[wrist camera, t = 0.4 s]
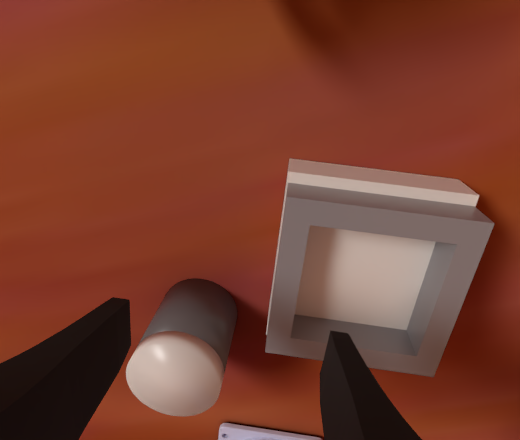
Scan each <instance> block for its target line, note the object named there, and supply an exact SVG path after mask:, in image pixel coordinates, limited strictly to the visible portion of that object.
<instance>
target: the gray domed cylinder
mask: <svg viewBox="0 0 520 440" xmlns="http://www.w3.org/2000/svg"><path fill="white" fill-rule="evenodd" d="M236 321H237V307H236V303H235V301H234V299H233V298H232V296H231V295H230V294H229V293H228V292H227V291H226V290H225V289H224V288H223V287H221V286H220V285H218V284H216V283H214V282H212V281H208V280H204V279H187V280H183V281H181V282H178V283H177V284H175V285H174V286H172V287H171V288H170V289H169V291H168V292H167V294H166V296H165V297H164V299H163V301H162V303H161V305H160V306H159V308H158V310H157V312H156V314H155V315H154V317H153V319H152V321H151V323H150V324H149V326H148V328H147V330H146V332H145V334H144V335H143V337H142V339H141V341H140V343H139V344H138V346H137V348H136V350H135V352H134V353H133V355H132V357H131V359H130V361H129V363H128V365H127V369H126V378H127V382H128V385H129V387H130V389H131V391H132V392H133V394H134V395H135V396H136V397H137V398H138V399H139V400H140V401H141V402H142V403H144V404H145V405H147V406H148V407H150V408H152V409H154V410H156V411H158V412H161V413H164V414H167V415H172V416H191V415H196V414H199V413H202V412H204V411H206V410H208V409H209V408H210V407H211V406H213V404H214V403H215V402H216V401H217V399H218V397H219V394H220V389H221V385H222V381H223V377H224V372H225V368H226V364H227V359H228V355H229V351H230V346H231V342H232V338H233V334H234V329H235V325H236Z"/></svg>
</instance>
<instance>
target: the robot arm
mask: <svg viewBox="0 0 520 440" xmlns="http://www.w3.org/2000/svg"><path fill="white" fill-rule="evenodd" d="M130 346H131V331H130V302H129V300H127V299H120V298H114V297H113V298H111V299H109V300H108V301H106V302H105V303H103V304H102V305H100V306H99V307H97V308H96V309H94V310H93V311H91V312H90V313H88V314H87V315H85V316H84V317H82V318H80V319H79V320H77V321H76V322H74V323H73V324H71V325H70V326H68V327H66V328H65V329H63V330H62V331H60V332H58V333H57V334H55V335H53V336H51V337H50V338H48V339H46V340H45V341H43V342H41V343H39V344H38V345H36V346H34V347H32V348H31V349H29V350H27V351H25V352H23V353H21V354H19V355H17V356H15V357H13V358H11V359H9V360H7V361H5V362H3V363H1V364H0V440H79V438H80V436H81V434H82V432H83V431H84V429H85V427H86V425H87V424H88V422H89V421H90V419H91V417H92V416H93V414H94V412H95V411H96V409H97V407H98V406H99V404H100V402H101V401H102V399H103V397H104V396H105V394H106V392H107V391H108V389H109V387H110V386H111V384H112V382H113V381H114V379H115V377H116V376H117V374H118V372H119V370H120V368H121V366H122V364H123V362H124V360H125V357H126V355H127V353H128V350H129V348H130ZM320 406H321V415H322V423H323V431H324V440H422V439H421V438H420V437H419V436H418V435H417V434H416V433H415V431H414V430H413V429H412V428H411V427H410V425H409V424H408V423H407V422H406V421H405V419H404V418H403V417H402V416H401V414H400V413H399V412H398V411H397V409H396V408H395V407H394V405H393V404H392V402H391V401H390V400H389V398H388V397H387V396H386V394H385V393H384V391H383V390H382V388H381V387H380V385H379V384H378V382H377V381H376V379H375V378H374V376H373V375H372V373H371V371H370V370H369V368H368V367H367V365H366V363H365V362H364V360H363V358H362V357H361V355H360V353H359V351H358V350H357V348H356V346H355V344H354V342H353V341H352V339H351V337H350V335H349V334H348V333H344V332H337V331H331V330H330V334H329V338H328V343H327V347H326V351H325V355H324V359H323V364H322V368H321V372H320ZM218 440H322V439H321V438H319V437H314V436H307V435H301V434H294V433H288V432H282V431H275V430H269V429H263V428H256V427H250V426H243V425H237V424H231V423H223V424H221V425H220V429H219V438H218Z"/></svg>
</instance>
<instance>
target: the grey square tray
mask: <svg viewBox="0 0 520 440" xmlns="http://www.w3.org/2000/svg"><path fill="white" fill-rule="evenodd" d="M478 198H479V195H478V194H477V193H476V192H474V191H473V190H472V189H470V188H469V187H468V186H467V185H465V184H464V183H463V182H461V181H460V180H459V179H451V178H443V177H435V176H427V175H419V174H411V173H403V172H395V171H387V170H379V169H371V168H363V167H355V166H347V165H339V164H331V163H323V162H315V161H307V160H298V159H289V166H288V174H287V181H286V188H285V195H284V203H283V210H282V217H281V224H280V232H279V239H278V246H277V253H276V261H275V268H274V275H273V282H272V290H271V297H270V304H269V312H268V321H267V329H266V335H267V339H266V348H265V352H267V353H273V354H280V355H287V356H294V357H300V358H307V359H314V360H321V361H323V359H324V355H325V351H326V347H327V343H328V338H329V334H330V330H331V331H337V332H344V333H348V334H349V335H350V337H351V339H352V341H353V342H354V344H355V346H356V348H357V350H358V351H359V353H360V355H361V357H362V358H363V360H364V362H365V363H366V365H367V367H368V368H375V369H382V370H389V371H395V372H402V373H409V374H416V375H422V376H429V377H434V375H435V372H436V370H437V367H438V365H439V362H440V360H441V357H442V355H443V352H444V350H445V347H446V345H447V342H448V340H449V337H450V335H451V332H452V330H453V327H454V325H455V322H456V320H457V317H458V315H459V312H460V310H461V307H462V305H463V302H464V300H465V297H466V294H467V292H468V289H469V287H470V284H471V282H472V279H473V277H474V274H475V272H476V269H477V267H478V264H479V262H480V259H481V257H482V254H483V252H484V249H485V247H486V244H487V242H488V239H489V237H490V234H491V232H492V229H493V227H494V224H495V223H494V222H492V221H491V220H490V219H489V218H488V217H487V216H485V215H484V214H483V213H482V212H481V211H479V210H478V209H477V208H476V204H477V201H478Z"/></svg>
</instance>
